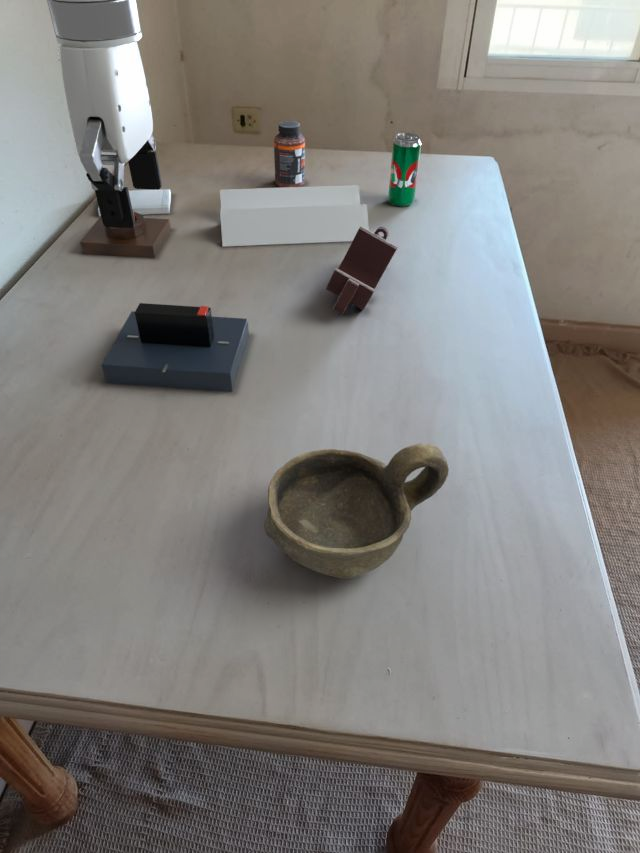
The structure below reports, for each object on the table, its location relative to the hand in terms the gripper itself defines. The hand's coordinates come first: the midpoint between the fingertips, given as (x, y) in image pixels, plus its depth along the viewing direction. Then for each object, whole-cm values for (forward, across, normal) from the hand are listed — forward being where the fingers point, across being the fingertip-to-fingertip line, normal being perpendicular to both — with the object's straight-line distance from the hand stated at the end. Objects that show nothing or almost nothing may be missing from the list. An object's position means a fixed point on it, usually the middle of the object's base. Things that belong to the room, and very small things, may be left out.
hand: (134, 206), depth 68 cm
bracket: (+21, -20, +25) cm, 38 cm away
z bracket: (+21, -41, +12) cm, 48 cm away
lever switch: (+21, -1, +2) cm, 21 cm away
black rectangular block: (+18, -1, +2) cm, 18 cm away
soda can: (+21, -54, +30) cm, 66 cm away
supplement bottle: (+21, -60, +8) cm, 64 cm away
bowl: (+22, +25, +26) cm, 42 cm away
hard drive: (+21, -46, -18) cm, 54 cm away
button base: (+21, -32, -15) cm, 41 cm away
